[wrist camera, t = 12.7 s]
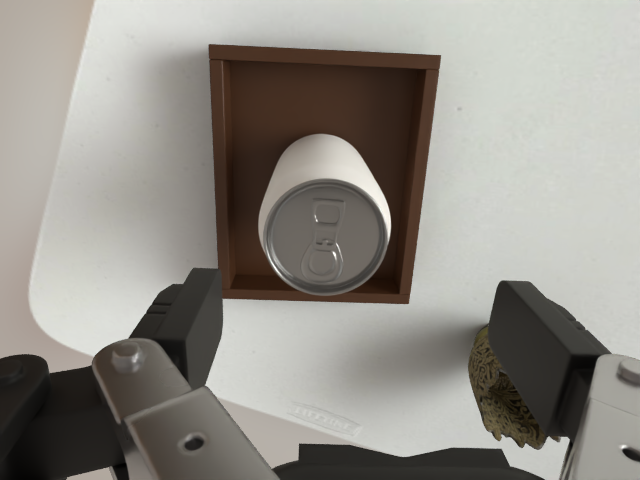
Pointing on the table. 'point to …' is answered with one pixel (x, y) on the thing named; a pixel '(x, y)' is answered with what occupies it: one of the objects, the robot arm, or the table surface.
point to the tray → (307, 119)
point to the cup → (501, 398)
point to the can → (324, 217)
